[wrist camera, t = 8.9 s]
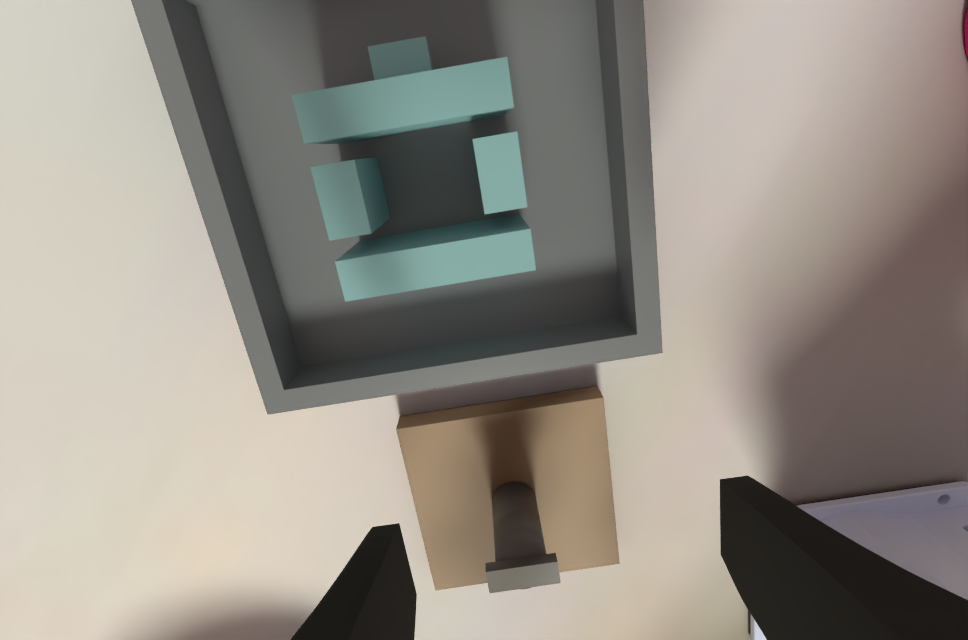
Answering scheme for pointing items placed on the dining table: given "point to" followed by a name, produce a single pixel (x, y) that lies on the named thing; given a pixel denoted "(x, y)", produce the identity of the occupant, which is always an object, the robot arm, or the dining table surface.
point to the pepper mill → (966, 33)
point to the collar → (358, 184)
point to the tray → (417, 188)
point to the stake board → (508, 453)
